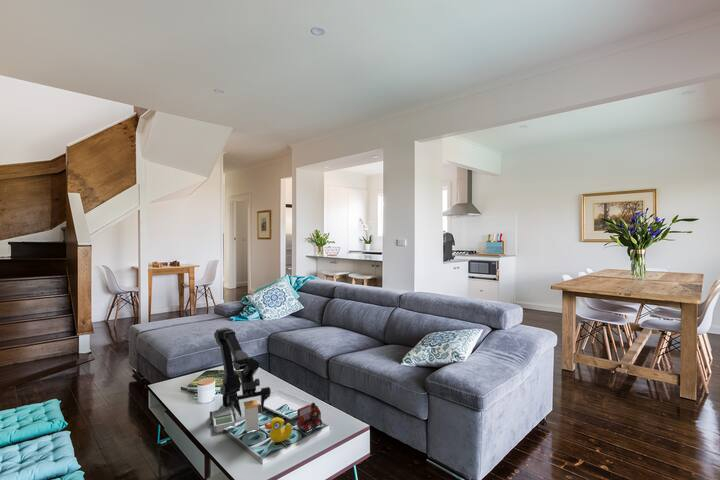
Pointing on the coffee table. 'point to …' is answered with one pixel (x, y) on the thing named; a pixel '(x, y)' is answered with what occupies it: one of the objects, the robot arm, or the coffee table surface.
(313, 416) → the toy fire truck
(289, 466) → the coffee table surface
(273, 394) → the tray
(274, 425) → the duckling
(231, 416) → the small digital clock
